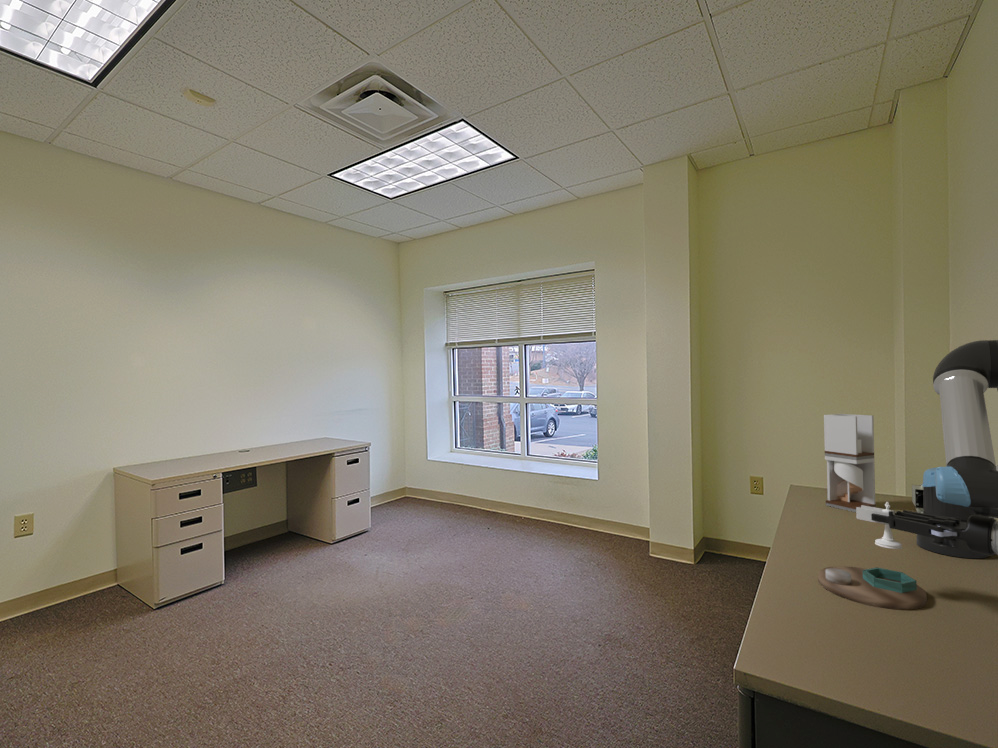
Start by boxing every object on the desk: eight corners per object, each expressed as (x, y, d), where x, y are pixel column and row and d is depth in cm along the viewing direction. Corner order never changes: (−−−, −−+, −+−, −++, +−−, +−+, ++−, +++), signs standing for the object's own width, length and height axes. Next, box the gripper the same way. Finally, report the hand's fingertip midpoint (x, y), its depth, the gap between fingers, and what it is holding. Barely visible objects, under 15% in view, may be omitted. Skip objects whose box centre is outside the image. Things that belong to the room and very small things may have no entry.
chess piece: (896, 543, 114) (895, 500, 114) (906, 550, 109) (905, 505, 109) (871, 540, 116) (870, 498, 116) (879, 547, 111) (879, 503, 111)
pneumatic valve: (916, 522, 164) (915, 486, 164) (912, 514, 174) (911, 480, 174) (938, 525, 161) (937, 488, 161) (932, 516, 171) (931, 482, 171)
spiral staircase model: (825, 505, 187) (823, 414, 187) (843, 502, 191) (841, 413, 191) (857, 513, 176) (855, 416, 177) (875, 509, 180) (873, 415, 181)
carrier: (892, 575, 121) (892, 561, 121) (950, 613, 101) (949, 596, 101) (804, 569, 125) (803, 556, 125) (843, 605, 105) (842, 589, 105)
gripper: (986, 564, 93) (846, 533, 113) (1006, 548, 102) (872, 522, 121) (985, 525, 93) (845, 500, 113) (1005, 512, 102) (871, 492, 121)
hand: (859, 511), depth 117 cm, fingers closed on chess piece, 2 cm apart
